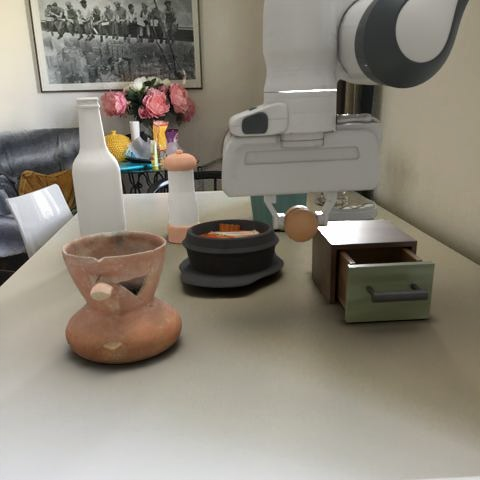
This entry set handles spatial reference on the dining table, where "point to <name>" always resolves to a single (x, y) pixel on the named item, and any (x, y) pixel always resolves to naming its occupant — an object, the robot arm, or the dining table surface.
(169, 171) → the salt shaker
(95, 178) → the alcohol
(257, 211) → the flower pot
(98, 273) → the ceramic jug
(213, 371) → the dining table surface
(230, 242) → the casserole
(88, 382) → the dining table surface
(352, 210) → the food container
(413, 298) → the drawer
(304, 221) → the egg
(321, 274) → the cabinet
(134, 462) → the dining table surface
